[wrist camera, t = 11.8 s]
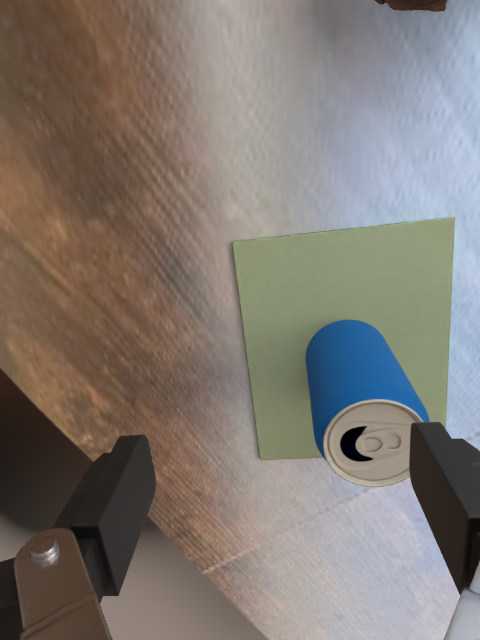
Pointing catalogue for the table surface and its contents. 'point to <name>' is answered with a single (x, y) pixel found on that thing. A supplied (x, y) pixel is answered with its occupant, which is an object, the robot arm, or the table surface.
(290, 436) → the desk mat
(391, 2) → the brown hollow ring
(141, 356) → the table surface
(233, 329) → the table surface
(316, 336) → the beverage can
